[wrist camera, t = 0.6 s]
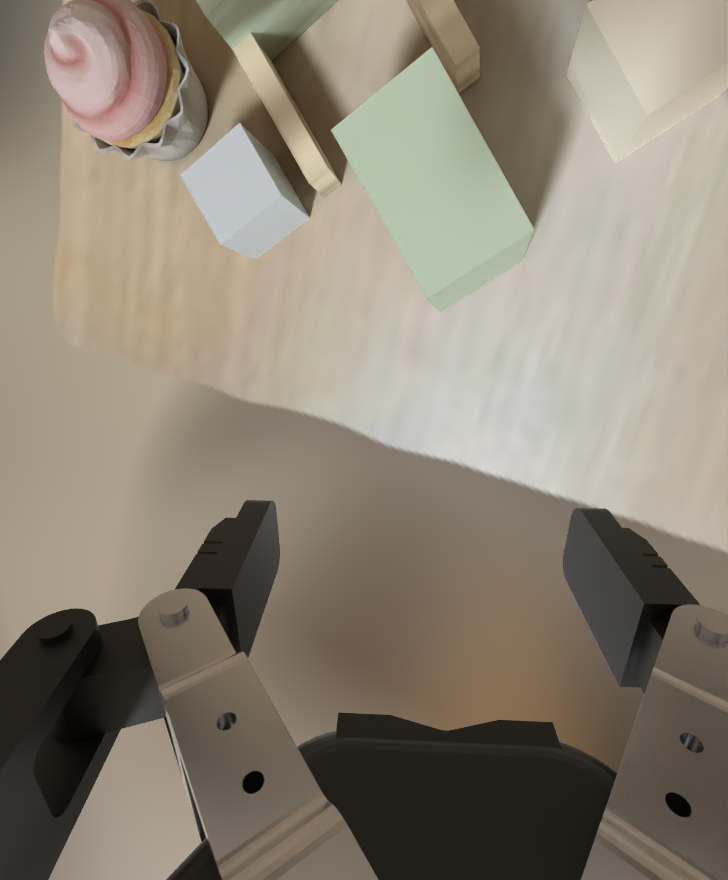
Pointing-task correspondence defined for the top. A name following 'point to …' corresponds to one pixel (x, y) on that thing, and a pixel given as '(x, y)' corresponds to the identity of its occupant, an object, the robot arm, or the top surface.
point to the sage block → (435, 183)
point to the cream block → (648, 66)
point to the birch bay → (283, 20)
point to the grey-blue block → (244, 194)
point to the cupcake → (126, 78)
